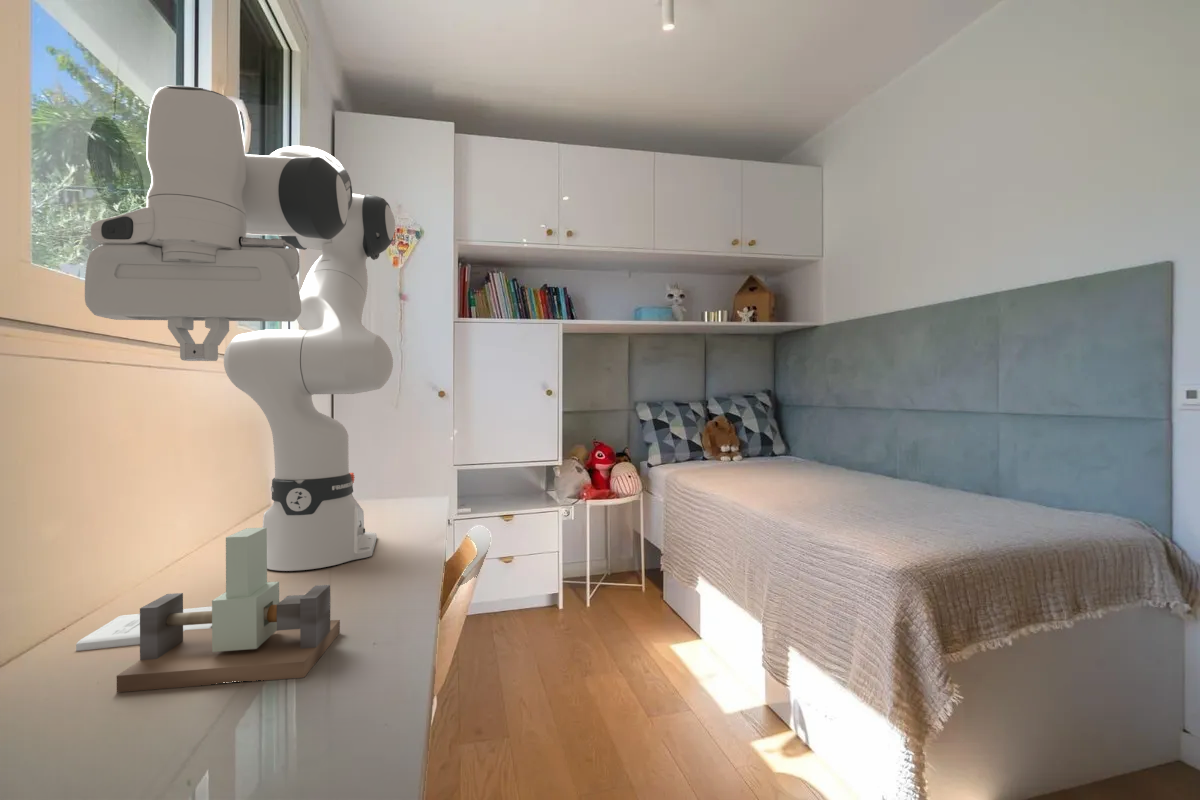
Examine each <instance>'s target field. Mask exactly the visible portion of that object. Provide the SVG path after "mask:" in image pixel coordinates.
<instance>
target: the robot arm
mask: <svg viewBox="0 0 1200 800" xmlns="http://www.w3.org/2000/svg"><path fill="white" fill-rule="evenodd" d="M149 107H150V108H149V113H148V119H147V126H146V127H147V129H146V162H147V167H148V168H149V172H150V176H151V177H150V178H151V183H150V187H149V189H148V191H147V195H146V206H145V207H141V208H139V209H135V210H132V211H129V212H126V213H122V214H119V215H115V216H111V217H106V218H103V219H99V220H96V221H94V222H92V224H91V226H90V237H91V238H92V240H94V242H97V243H99V244H101V245H98V246H96V247H95V248H93V249H92V250H91V252H90V254H89V255H88V257H87V260H86V261H87V262H86V267H85V268H86V269H85V277H84V302H85V305H86V307H87V308H88V310H89V311H90V312H91V313H92V314H93V315H94V316H97V317H100V318H104V319H109V320H113V321H114V320H118V321H167V329H168V330H169V331H170V333H171V334H172V336H173V337H174V339H175V340H176V342H177V343H178V344H179V358H180V359H181V361H186V362H217V361H218V359H219V346H220V345H221V343H222V342H223V340H224V339H225V338H226V336H227V335H228V333H229V332H230V322H286V323H287V322H291V323H292V322H295V321H297V323H298V324H299V326H300V327H301V328H302V329H276V328H275V329H270V328H269V329H262V330H256V331H250V332H245V333H240V334H236V335H235V336H234V337H233V338H232V339H231V340H230V342H228V344H227V347H226V349H225V351H224V355H223V367H224V371H225V373H226V376H227V377H228V379H229V381H230V382H231V383H232V384H233V385H234V386H235V387H236V388H237V389H239V390H240V391H241V392H243V393H244V394H246V395H247V396H249V397H250V398H251V399H252V400H253V401H254V402H255V403H256V404H257V405H258V407H259V409H261V411H262V413H263V414H264V415H265V418H266V420H267V421H268V425H269V427H270V431H271V434H272V442H273V456H274V477H273V478H272V479H271V487H270V492H271V500H272V501H273V503H272V505H271V506H270V507H269V508H267V510H266V511H264V513H263V517H262V527H261V528H265V527H267V570H271V571H282V572H285V571H286V572H288V571H289V572H293V571H305V570H306V571H307V570H314V569H321V568H326V567H331V566H336V565H341V564H343V563H347V562H350V561H355V560H360V559H365V558H368V557H372V556H373V554H374V550H375V546H376V541H377V539H378V538H377V532H373V531H372V532H371V531H366V528H365V516H364V515H365V514H364V509H363V508H362V506H360V504H359V503H358V501H357V500H356V499H355V497H354V496H353V493H354V487H353V485H354V483H355V482H354V481H355V473H354V472H349V470H350V469H349V468H350V465H349V460H350V459H349V434H348V431H347V429H346V428H345V426H344V425H343V424H342V423H341V422H340V421H338V420H336V419H334V418H333V417H331V416H329V415H326V414H324V413H322V412H320V411H318V410H317V408H316V407H315V405H314V402H313V397H312V395H313V396H314V395H354V394H361V393H367V392H371V391H376V390H380V389H382V388H383V387H384V386H385V385H386V384H387V382H388V380H389V379H390V377H391V375H392V371H393V367H394V359H393V355H392V354H393V353H392V352H391V349H390V347H389V345H388V344H387V342H386V341H385V340H384V339H383V338H382V337H381V336H380V335H378V334H375V333H374V332H372V331H370V330H368V329H367V328H366V327H365V325H363V323H362V320H363V319H362V318H363V312H364V307H365V303H366V301H367V300H366V298H367V292H368V286H369V283H368V281H369V280H368V270H367V266H366V261H367V259H368V258H371V260H373V261H375V260H377V259H379V258H380V254H381V253H383V252H385V251H386V250H387V249H388V248H389V247H390V245H391V244H392V242H393V241H394V236H395V231H396V219H395V216H394V213H393V212H392V209H391V206H390V204H389V203H388V202H387V200H386V199H385V198H383V197H381V196H378V195H373V194H368V193H365V195H364V194H363V195H362V194H358V193H353V186H352V180H351V177H350V174H349V173H348V171H347V170H346V169H345V168H344V167H343V165H342V164H341V162H340V161H339V160H338V159H336V157H334V156H333V155H331V154H330V153H328V152H326V151H324V150H322V149H319V148H317V147H313V146H306V145H291V146H286V147H281V148H278V149H276V150H275V151H273V152H271V153H270V154H269V155H265V154H264V155H259V154H246V148H245V147H246V146H245V137H244V129H243V123H242V117H241V114H240V109H239V106H238V104H237V103H236V102H235V101H233V100H232V99H230V98H229V97H227V96H226V95H224V94H221V93H219V92H217V91H214V90H209V89H205V88H203V87H197V86H187V85H172V84H171V85H165V86H162V87H159V88H158V89H156V90H155V92H154V94H153V96H152V99H151V103H150V106H149ZM247 235H256V236H257V235H259V236H277V238H275V237H274V238H259V237H247ZM308 249H310V250H317V251H321V252H322V253H321V255H320V256H319V257H318V259H316V261H314V263H313V265H312V266H311V267H310V269H309V271H308V272H307V274H306V276H305V279H304V282H303V284H302V287H301V289H300V285H299V280H298V277H297V275H298V273H299V272H300V253H299V251H298V250H304V251H306V250H308ZM194 321H197V322H198V321H201V322H202V321H203V322H204V327H205V328H207V329H209V330H208V333H207V335H206V336H205V338H204V340H203V341H202V343H196V342H195V340H194V339H193V337H192V335H191V334H190V332H189V331H194V325H195V324H194V323H195V322H194Z"/></svg>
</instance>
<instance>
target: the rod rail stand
mask: <svg viewBox="0 0 1200 800" xmlns="http://www.w3.org/2000/svg"><path fill="white" fill-rule="evenodd" d="M183 609H184V592H176V593H175V592H174V593H167V594H166V593H165V594H164V595H162V596H161V597H159V598H157V599H154V600H153V601H151V602H150V603H147V604H145V605H143V606H141V607H140V608H139V614H140V644H139V660H138V661H137V662H134V664H132V665H131V666H129V667H128V668H126V669H125V670H123V671H122V672H120V673H119V674H117V675H116V693H125V692H135V691H136V692H137V691H150V690H151V691H152V690H162V689H174V688H175V689H176V688H186V687H187V688H189V687H200V686H201V685H202V686H211V684H215V685H219V684H218V683H223V682H225V683H226V682H232V681H233V682H234V681H236V682H238V681H239V682H240V681H242V682H240V683H244V682H243V681H252V682H259V681H258V680H261V681H262V682H264V681H274V680H275V681H276V680H286V679H287V680H288V679H299V678H305V677H306V676H307V675H308V673H309V672H310V671H311V670H312V668H313V667H314V666H315V665H316V664H317V662H318V661H319V659H320V658H321V657H322V656H323V655H324V653H325V652H326V651H327V650H328V648H329V647H331V645H332V643H333V642H334V641H335V640H336V639H337V637H338V636H339V635H340V633H341V619H333V620H331V584H321V585H320V584H317V585H314V586H313V587H312V588H311V589H309V591H307V592H306V593H305V594H297V595H295V594H294V595H286V597H284V598H283V599H282V600H281V601H279V603H278V604H276V605H271V606H270V607H268V608H264V620H268V622H277V631H275V632H274V633H273V634H272V635H271V636H270V637H269V638H268V639H267V640H266V641H265V642H263V643H262V644H261V645H260V646H259V647H258V648H257V649H247V650H233V651H219V652H212V628H208V629H193V630H185V631H183V625H196V624H211V623H212V611H203V612H187V613H183ZM256 680H257V681H256ZM263 680H264V681H263ZM261 681H260V682H261ZM216 683H217V684H216Z"/></svg>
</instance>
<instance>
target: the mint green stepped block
mask: <svg viewBox="0 0 1200 800" xmlns="http://www.w3.org/2000/svg"><path fill="white" fill-rule="evenodd" d="M278 603H280V581H268V569H267V527H265V528H262V527H246V528H243V529H242V530H239V531H237V532H235V533H232V534H231V535H228V536H226V537H225V592H224V593H221V594H220V595H219V596H217V597H215V598H213V600H211V606H212V652H219V651H233V650H247V649H257V648H258V647H259V646H260V645H261V644H262V643H263V642H265V641H266V640H267V639H268V638H269V637H270V636H271V635H272V634H273V633H274V632H275V631H277V622H268V620H264V608H268V607H270V606H271V605H276V604H278Z"/></svg>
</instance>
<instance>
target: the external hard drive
mask: <svg viewBox="0 0 1200 800" xmlns="http://www.w3.org/2000/svg"><path fill="white" fill-rule="evenodd" d="M203 611H212V605H211V606H200V607H193V608H192V607H191V608H183V613H187V612H203ZM208 628H212V623H211V624H196V625H183V631H185V630H193V629H208ZM137 645H140V613H135V614H123V615H122V614H121V615H119V616H116V617H115V618H113V619H112V620H111V621H109V622H107V623H106V624H104V625H102V626H101V627H99V628H97V629H95V630H94V631H92V632H90V633H89V634H87V635H86V636H84V637H82V638H81V639H79V640H78V642H76V644H75V651H76V652H80V651H88V650H96V649H97V650H99V649H107V648H108V649H109V648H116V647H117V648H118V647H128V646H137Z"/></svg>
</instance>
